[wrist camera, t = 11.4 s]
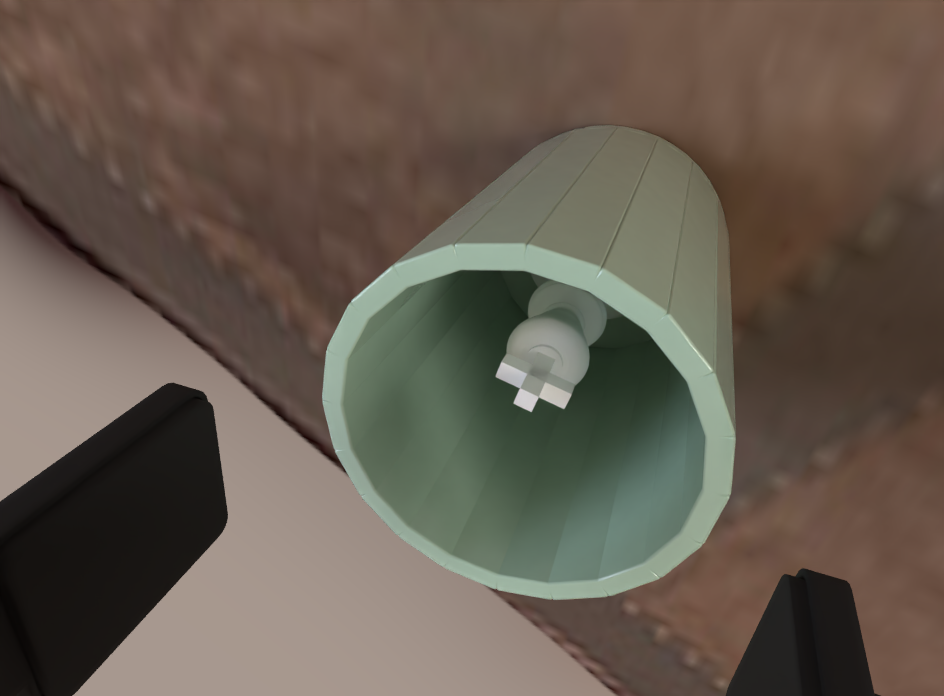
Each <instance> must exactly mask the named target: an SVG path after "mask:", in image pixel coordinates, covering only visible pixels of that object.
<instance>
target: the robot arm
mask: <svg viewBox="0 0 944 696" xmlns="http://www.w3.org/2000/svg"><path fill="white" fill-rule="evenodd" d="M227 519H228V512H227V505H226V497H225V490H224V483H223V476H222V469H221V461H220V454H219V447H218V439H217V432H216V424H215V418H214V411H213V406H212V405H211V403H209V402H208V400H207V397H206V395H205V394H204V393H203V392H202V391H199V390H196V389H192V388H189V387H186V386H182V385H179V384H175V383H168V384H166V385H164V386H162V387H161V388H159V389H158V390H157V391H155V392H154V393H152V394H151V395H149V396H148V397H147V398H145V399H144V400H142V401H141V402H140V403H138V404H137V405H135V406H134V407H132V408H131V409H130V410H128V411H127V412H125V413H124V414H123V415H121V416H120V417H119V418H117V419H116V420H114V421H113V422H112V423H110V424H109V425H107V426H106V427H105V428H103V429H102V430H100V431H99V432H97V433H96V434H95V435H93V436H92V437H90V438H89V439H88V440H86V441H85V442H83V443H82V444H81V445H79V446H78V447H76V448H75V449H73V450H72V451H71V452H69V453H68V454H66V455H65V456H64V457H62V458H61V459H59V460H58V461H57V462H55V463H54V464H52V465H51V466H50V467H48V468H47V469H45V470H44V471H42V472H41V473H40V474H39V475H37V476H35V477H34V478H33V479H31V480H30V481H28V482H27V483H26V484H24V485H23V486H21V487H20V488H19V489H17V490H16V491H14V492H13V493H12V494H10V495H9V496H7V497H6V498H5V499H3V500H2V501H1V502H0V696H72V695H74V694H75V693H76V692H77V691H78V690H79V689H80V687H81V686H82V685H83V684H84V683H85V682H86V681H87V680H88V679H89V678H90V677H91V675H92V674H93V673H94V672H95V671H96V670H97V669H98V668H99V667H100V666H101V665H102V663H103V662H104V661H105V660H106V659H107V658H108V657H109V656H110V654H112V653H113V651H114V650H115V649H116V648H117V647H118V646H119V645H120V644H121V643H122V642H123V641H124V639H125V638H126V637H127V636H128V635H129V634H130V633H131V632H132V631H133V630H134V629H135V627H136V626H137V625H138V624H139V623H140V622H141V621H142V620H143V619H144V618H145V617H146V615H147V614H148V613H149V612H150V611H151V610H152V609H153V608H154V607H155V606H156V605H157V603H158V602H159V601H160V600H161V599H162V598H163V597H164V596H165V595H166V594H167V592H168V591H169V590H170V589H171V588H172V587H173V586H174V585H175V584H176V583H177V582H178V580H179V579H180V578H181V577H182V576H183V575H184V574H185V573H186V572H187V571H188V570H189V569H190V568H191V566H192V565H193V564H194V563H195V562H196V561H197V560H198V559H199V558H200V557H201V555H202V554H203V553H204V552H205V551H206V550H207V549H208V548H209V547H210V546H211V544H212V543H213V542H214V541H215V540H216V539H217V538H218V537H219V536H220V534H221V533H222V532H223V530H224V528H225V526H226V523H227ZM726 696H880V695H877V694H874V690H873V685H872V681H871V676H870V671H869V667H868V662H867V658H866V653H865V648H864V644H863V639H862V635H861V630H860V625H859V621H858V616H857V612H856V607H855V602H854V598H853V593H852V589H851V587H850V584H849V583H848V582H847V581H845V580H842V579H838V578H835V577H831V576H828V575H825V574H821V573H818V572H814V571H811V570H808V569H801V570H800V571H799V572H798V573H797V575H796V576H795V577H794V576H791V575H787V574H784V575H783V576H782V577H781V579H780V581H779V583H778V585H777V587H776V589H775V591H774V593H773V595H772V597H771V600H770V602H769V604H768V606H767V608H766V610H765V612H764V614H763V616H762V618H761V620H760V622H759V624H758V626H757V629H756V631H755V633H754V635H753V637H752V639H751V641H750V643H749V645H748V647H747V649H746V651H745V653H744V655H743V658H742V660H741V662H740V664H739V666H738V668H737V670H736V672H735V674H734V676H733V678H732V680H731V682H730V684H729V687H728V690H727V693H726Z"/></svg>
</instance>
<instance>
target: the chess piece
mask: <svg viewBox="0 0 944 696" xmlns="http://www.w3.org/2000/svg"><path fill="white" fill-rule="evenodd" d="M531 276H532V278H533V280H534V282H535V284H536V285H537V287H538V288H537V289H536V290H535V292H534V293H533V295H532V296H531V299H530V301H529V305H528V319H527V320H525V321H523V322H522V323H520V324H519V325H518V326H517V327H516V328H515V329H514V330H513V332H512V333H511V335H510V337H509V339H508V343H507V353H506V355H505V357H504V358H503V360H502V362H501V364H500V366H499V369H498V371H497V374H496V376H495V377H497V378H499V379H501V380H503V381H505V382H507V383H509V384H512V385H514V386H516V387H518V388H520V389H519V392H518V394H517V396H516V398H515V400H514V403H513V404H515V405H517V406H520V407H522V408H524V409H526V410H528V411H530V412H532V410H533V408H534V406H535V404H536V402H537V400H538V398H541V399H543V400H546V401H548V402H550V403H552V404H554V405H556V406H558V407H561V408H563V409H565V407H566V405H567V403H568V401H569V399H570V397H571V395H572V392H573V390H574V387H575V385H577V384H578V383H579V382H580V381H581V380H582V379H583V377H584V376H585V374H586V372H587V369H588V366H589V360H590V355H589V348H588V346H590V345H591V344H593V343H594V342H595V341H596V340H597V339H598V338H599V337H600V336H601V334H602V333H603V331H604V329H605V326H606V321H607V319H613V318H618V317H622V316H624V315H623V314H621V313H620V312H618V311H617V310H615V309H614V308H612V307H611V306H609V305H608V304H606V303H605V302H603V301H602V300H601V299H599V298H598V297H596V296H595V295H593V294H592V293H590V292H589V291H586V290H582V289H579V288H576V287H573V286H570V285H567V284H564V283H561V282H558V281H554V280H551V279H548V278H545V277H542V276H539V275H536V274H533V273H531Z"/></svg>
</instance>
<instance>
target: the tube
mask: <svg viewBox="0 0 944 696" xmlns="http://www.w3.org/2000/svg"><path fill="white" fill-rule="evenodd" d="M531 273H533V274H536V275H539V276H542V277H545V278H548V279H551V280H554V281H558V282H561V283H564V284H567V285H570V286H573V287H576V288H579V289H582V290H586V291H589V292H590V293H592V294H593V295H595V296H596V297H598V298H599V299H601V300H602V301H603V302H605V303H606V304H608V305H609V306H611V307H612V308H614V309H615V310H617V311H618V312H620V313H621V314H623V315H624V316H622V317H618V318H613V319H607V321H606V326H605V329H604V331H603V333H602V334H601V336H600V337H599V338H598V339H597V340H596V341H595V342H594V343H593V344H591V345H590V346H588V348H589V355H590V360H589V366H588V369H587V372H586V374H585V376H584V377H583V379H582V380H581V381H580V382H579V383H578V384H577V385H575V387H574V390H573V392H572V395H571V397H570V399H569V401H568V403H567V405H566V407H565V409H563V408H561V407H558V406H556V405H554V404H552V403H550V402H548V401H546V400H543V399H541V398H538V400H537V402H536V404H535V406H534V408H533V410H532V412H530V411H528V410H526V409H524V408H522V407H520V406H517V405H515V404H513V403H514V400H515V398H516V396H517V394H518V392H519V389H520V388H518V387H516V386H514V385H512V384H509V383H507V382H505V381H503V380H501V379H499V378H497V377H495V376H496V374H497V371H498V369H499V366H500V364H501V362H502V360H503V358H504V357H505V355H506V353H507V343H508V339H509V337H510V335H511V333H512V332H513V330H514V329H515V328H516V327H517V326H518V325H519V324H520V323H522V322H523V321H525V320H527V319H528V305H529V301H530V299H531V296H532V295H533V293H534V292H535V290H536V289H537V288H538V287H537V285H536V284H535V282H534V280H533V278H532V276H531ZM322 399H323V406H324V411H325V415H326V419H327V423H328V427H329V431H330V435H331V439H332V443H333V447H334V449H335V452H336V454H337V456H338V458H339V460H340V461H341V463H342V465H343V467H344V468H345V470H346V472H347V474H348V475H349V477H350V479H351V481H352V483H353V484H354V486H355V488H356V490H357V491H358V493H359V495H361V496H362V499H363V500H364V501H365V502H366V503H367V504H368V505H369V506H370V507H371V508H372V509H373V510H374V512H375V513H376V514H377V515H378V516H379V517H380V518H381V519H382V520H383V521H384V522H385V523H386V524H387V525H388V526H389V528H390V529H391V530H392V531H393V532H394V533H395V534H396V535H399V537H400V538H401V539H402V540H404V541H405V542H407V543H408V544H410V545H411V546H413V547H414V548H416V549H417V550H418V551H420V552H421V553H423V554H424V555H426V556H427V557H429V558H430V559H432V560H433V561H434V562H436V563H437V564H439V565H440V566H442V567H445V568H446V569H447V570H450V571H452V572H455V573H457V574H459V575H462V576H464V577H467V578H469V579H471V580H474V581H476V582H479V583H481V584H483V585H486V586H488V587H491V588H493V589H496V588H497V590H500V591H505V592H511V593H516V594H522V595H527V596H533V597H538V598H544V599H549V600H550V599H554V600H562V599H579V598H596V597H607V596H612V595H615V594H618V593H621V592H624V591H627V590H630V589H632V588H635V587H638V586H641V585H644V584H647V583H650V582H652V581H655V580H658V579H659V578H660V577H663V576H665V575H666V574H667V573H668V572H670V571H671V570H672V569H673V568H675V567H676V566H677V565H678V564H680V563H681V562H682V561H683V560H685V559H686V558H687V557H689V556H690V555H691V554H692V553H694V552H695V551H696V550H697V549H699V548H700V547H701V546H702V544H703V543H705V541H706V539H707V538H708V536H709V534H710V532H711V530H712V529H713V527H714V525H715V523H716V521H717V520H718V518H719V516H720V514H721V512H722V511H723V509H724V507H725V505H726V503H727V502H728V500H729V498H730V494H731V490H732V478H733V467H734V455H735V443H736V426H735V397H734V369H733V340H732V312H731V284H730V255H729V235H728V229H727V225H726V220H725V216H724V211H723V208H722V205H721V203H720V200H719V197H718V195H717V193H716V191H715V189H714V187H713V185H712V184H711V182H710V180H709V179H708V177H707V176H706V175H705V173H704V172H703V171H702V170H701V168H700V167H699V166H698V165H697V164H696V163H695V162H694V161H693V160H692V159H691V158H690V157H689V156H688V155H687V154H686V153H684V152H683V151H681V150H680V149H679V148H677V147H676V146H675V145H673V144H671V143H670V142H668V141H666V140H664V139H662V138H660V137H659V136H656V135H653V134H651V133H648V132H645V131H643V130H638V129H634V128H629V127H624V126H612V125H602V126H589V127H584V128H579V129H574V130H571V131H568V132H565V133H562V134H559V135H557V136H555V137H553V138H551V139H549V140H547V141H545V142H544V143H541V144H539V145H538V146H536V147H535V148H534V149H532V150H531V151H530V152H529V153H527V154H526V155H525V156H524V157H523V158H521V159H520V160H519V161H518V162H517V163H515V164H514V165H513V166H512V167H510V168H509V169H508V170H507V171H506V172H504V173H503V174H502V175H501V176H500V177H498V178H497V179H496V180H495V181H493V182H492V183H491V184H490V185H489V186H487V187H486V188H485V189H484V190H483V191H481V192H480V193H479V194H478V195H476V196H475V197H474V198H473V199H472V200H470V201H469V202H468V203H467V204H466V205H464V206H463V207H462V208H461V209H460V210H458V211H457V212H456V213H455V214H453V215H452V216H451V217H450V218H449V219H447V220H446V221H445V222H444V223H443V224H441V225H440V226H439V227H438V228H436V229H435V230H434V231H433V232H432V233H430V234H429V235H428V236H427V237H426V238H424V239H423V240H422V241H421V242H419V243H418V244H417V245H416V246H415V247H413V248H412V249H411V250H410V251H409V252H407V253H406V254H405V255H404V256H402V257H401V258H400V259H399V260H398V261H396V262H395V263H394V264H393V265H392V266H390V267H389V268H388V269H387V270H386V271H385V272H383V273H382V274H381V275H380V276H379V277H378V278H377V279H375V280H374V281H373V282H372V283H371V284H370V285H368V286H367V287H366V288H365V289H364V290H363V291H362V292H360V293H359V294H358V295H357V296H356V297H355V298H353V299H352V301H351V302H350V303H349V304H348V306H347V308H346V310H345V312H344V314H343V316H342V318H341V320H340V322H339V324H338V326H337V328H336V330H335V332H334V334H333V336H332V338H331V341H330V343H329V345H328V347H327V351H326V360H325V371H324V383H323V394H322Z"/></svg>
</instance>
